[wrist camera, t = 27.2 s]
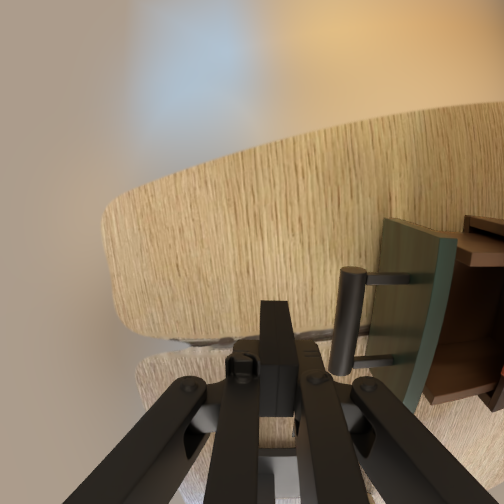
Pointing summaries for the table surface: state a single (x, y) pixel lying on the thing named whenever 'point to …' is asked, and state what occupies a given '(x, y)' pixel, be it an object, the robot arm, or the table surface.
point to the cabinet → (482, 225)
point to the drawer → (426, 314)
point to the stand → (277, 475)
